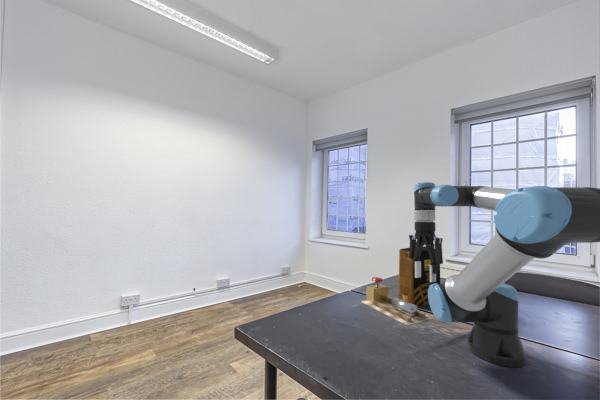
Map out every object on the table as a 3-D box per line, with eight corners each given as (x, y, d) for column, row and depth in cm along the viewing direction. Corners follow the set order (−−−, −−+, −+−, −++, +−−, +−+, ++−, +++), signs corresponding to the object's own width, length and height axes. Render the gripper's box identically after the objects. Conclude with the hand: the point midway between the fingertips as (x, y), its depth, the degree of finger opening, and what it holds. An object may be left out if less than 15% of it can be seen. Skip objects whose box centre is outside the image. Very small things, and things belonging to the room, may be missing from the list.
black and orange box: (443, 305, 124) (443, 247, 124) (413, 311, 116) (413, 249, 117) (425, 298, 134) (424, 244, 134) (396, 302, 126) (396, 246, 127)
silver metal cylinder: (416, 318, 107) (419, 306, 108) (408, 316, 105) (411, 304, 106) (398, 309, 116) (400, 298, 117) (390, 307, 114) (393, 296, 115)
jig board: (434, 321, 106) (434, 314, 106) (407, 329, 99) (407, 321, 99) (385, 299, 131) (384, 293, 131) (360, 304, 124) (360, 298, 124)
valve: (387, 301, 125) (387, 278, 125) (373, 304, 121) (373, 281, 121) (376, 296, 132) (376, 275, 132) (362, 298, 128) (362, 276, 128)
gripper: (454, 222, 95) (454, 284, 94) (411, 220, 112) (412, 272, 111) (440, 222, 92) (441, 287, 91) (399, 220, 109) (399, 274, 108)
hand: (425, 279), depth 101 cm, fingers open, 6 cm apart
